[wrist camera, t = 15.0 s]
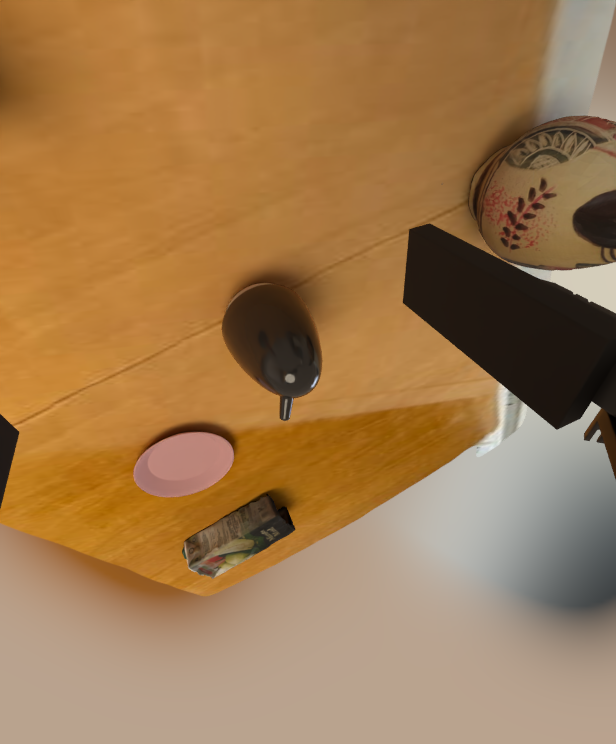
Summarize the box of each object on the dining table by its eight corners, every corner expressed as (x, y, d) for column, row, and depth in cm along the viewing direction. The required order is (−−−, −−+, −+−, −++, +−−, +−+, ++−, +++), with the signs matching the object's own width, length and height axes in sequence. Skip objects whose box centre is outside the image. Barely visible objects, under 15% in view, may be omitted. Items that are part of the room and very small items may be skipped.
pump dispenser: (208, 344, 45) (239, 432, 34) (223, 264, 39) (264, 339, 29) (283, 347, 50) (330, 425, 39) (305, 276, 44) (367, 344, 34)
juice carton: (205, 557, 76) (211, 586, 72) (177, 543, 69) (181, 575, 65) (287, 506, 77) (297, 532, 72) (267, 488, 70) (277, 515, 65)
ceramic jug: (570, 127, 46) (957, 181, 25) (505, 247, 55) (752, 362, 34) (480, 86, 38) (927, 114, 17) (420, 233, 47) (672, 370, 26)
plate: (249, 442, 59) (252, 451, 58) (189, 494, 61) (191, 504, 60) (178, 409, 49) (180, 419, 48) (110, 473, 51) (110, 484, 50)
